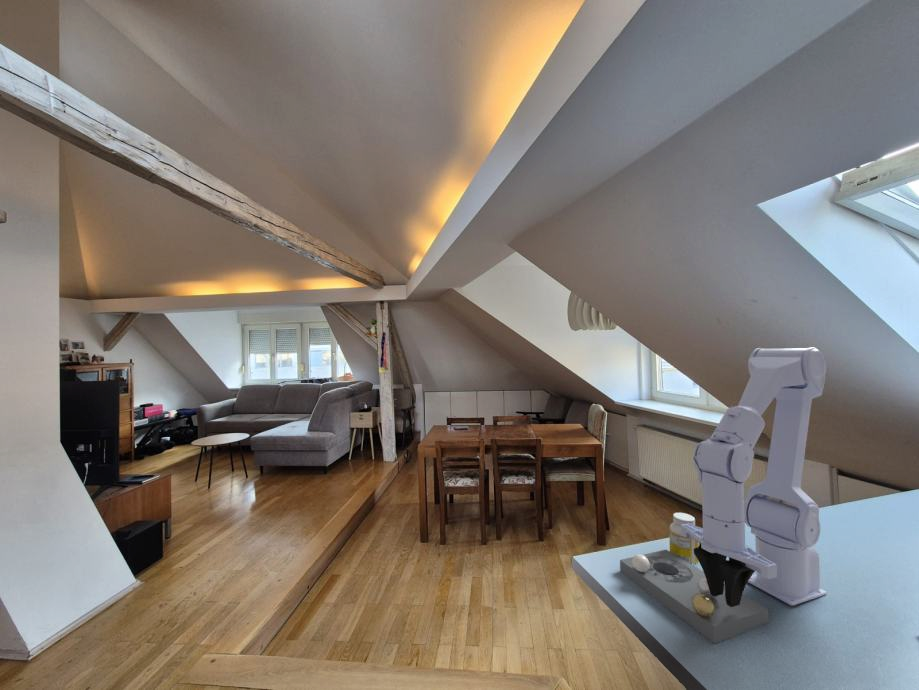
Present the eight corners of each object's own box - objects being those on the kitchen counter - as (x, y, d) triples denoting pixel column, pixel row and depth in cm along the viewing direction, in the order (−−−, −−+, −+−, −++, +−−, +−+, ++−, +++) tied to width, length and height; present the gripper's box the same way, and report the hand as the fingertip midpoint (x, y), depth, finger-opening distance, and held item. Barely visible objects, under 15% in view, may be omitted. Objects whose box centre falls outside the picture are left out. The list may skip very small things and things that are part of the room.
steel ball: (710, 592, 67) (704, 572, 68) (727, 598, 64) (720, 577, 65) (697, 598, 66) (690, 577, 66) (713, 604, 63) (706, 582, 64)
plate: (666, 561, 81) (665, 549, 81) (768, 624, 62) (768, 609, 62) (620, 572, 77) (619, 559, 77) (714, 643, 58) (713, 627, 58)
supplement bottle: (681, 570, 77) (680, 522, 78) (664, 556, 83) (663, 511, 83) (705, 568, 78) (704, 521, 78) (686, 554, 83) (686, 510, 84)
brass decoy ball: (701, 606, 63) (701, 588, 63) (719, 618, 60) (719, 599, 60) (688, 611, 62) (687, 592, 62) (705, 623, 59) (704, 603, 59)
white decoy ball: (641, 565, 75) (640, 549, 75) (653, 573, 72) (653, 557, 72) (628, 568, 74) (628, 552, 74) (640, 576, 71) (640, 560, 71)
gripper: (667, 502, 68) (668, 579, 68) (752, 539, 54) (754, 636, 54) (696, 497, 70) (698, 571, 70) (785, 531, 57) (787, 624, 56)
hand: (724, 599), depth 62 cm, fingers closed
